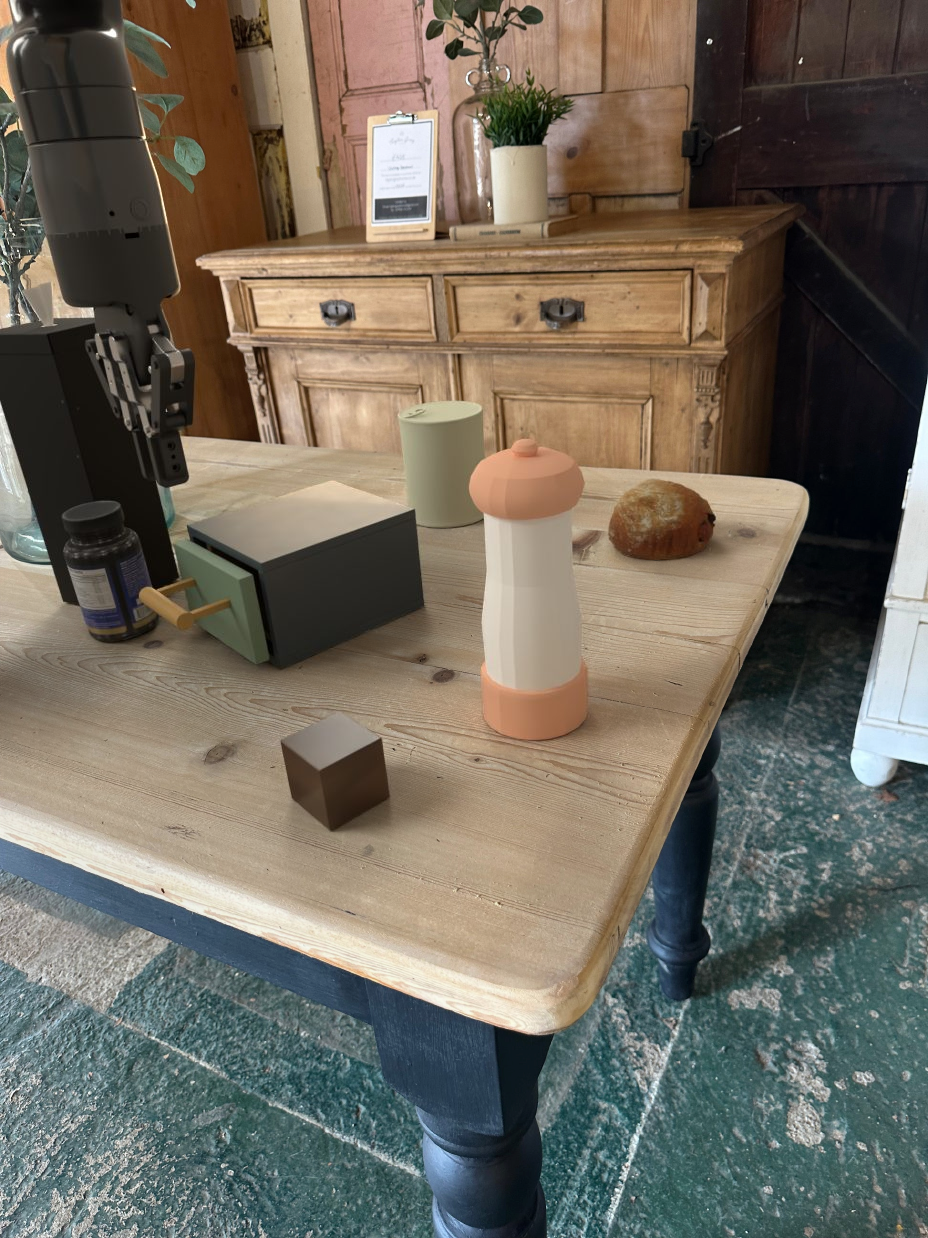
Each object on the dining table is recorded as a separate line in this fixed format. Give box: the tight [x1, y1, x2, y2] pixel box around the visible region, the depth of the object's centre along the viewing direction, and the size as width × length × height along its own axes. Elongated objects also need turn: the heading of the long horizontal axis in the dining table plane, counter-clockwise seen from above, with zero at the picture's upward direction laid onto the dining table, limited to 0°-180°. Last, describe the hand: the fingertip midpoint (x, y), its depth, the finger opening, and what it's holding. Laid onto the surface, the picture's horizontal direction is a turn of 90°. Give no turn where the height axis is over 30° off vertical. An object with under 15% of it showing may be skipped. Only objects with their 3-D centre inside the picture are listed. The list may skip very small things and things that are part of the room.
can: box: [397, 400, 486, 529], centre depth 94 cm, size 9×9×12 cm
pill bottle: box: [62, 501, 160, 642], centre depth 74 cm, size 6×6×11 cm
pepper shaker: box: [469, 438, 589, 741], centre depth 56 cm, size 7×7×19 cm
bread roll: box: [607, 478, 717, 561], centre depth 84 cm, size 10×10×8 cm
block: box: [279, 710, 391, 832], centre depth 52 cm, size 4×4×4 cm
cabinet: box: [186, 479, 426, 670], centre depth 74 cm, size 15×13×9 cm
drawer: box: [139, 538, 272, 666], centre depth 71 cm, size 18×11×7 cm, turn 131°
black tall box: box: [0, 281, 180, 606], centre depth 77 cm, size 8×8×28 cm
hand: (167, 480), depth 63 cm, fingers closed
